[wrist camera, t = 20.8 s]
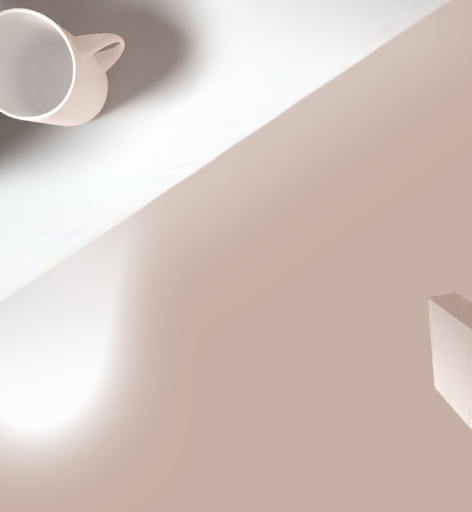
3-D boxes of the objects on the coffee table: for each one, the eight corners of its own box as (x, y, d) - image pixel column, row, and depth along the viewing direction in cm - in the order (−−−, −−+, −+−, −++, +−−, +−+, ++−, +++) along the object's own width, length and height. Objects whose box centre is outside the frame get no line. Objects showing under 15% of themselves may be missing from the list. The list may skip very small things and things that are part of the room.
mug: (153, 92, 48) (132, 76, 37) (52, 140, 49) (4, 137, 38) (116, 10, 46) (82, -31, 35) (12, 61, 47) (-51, 35, 36)
